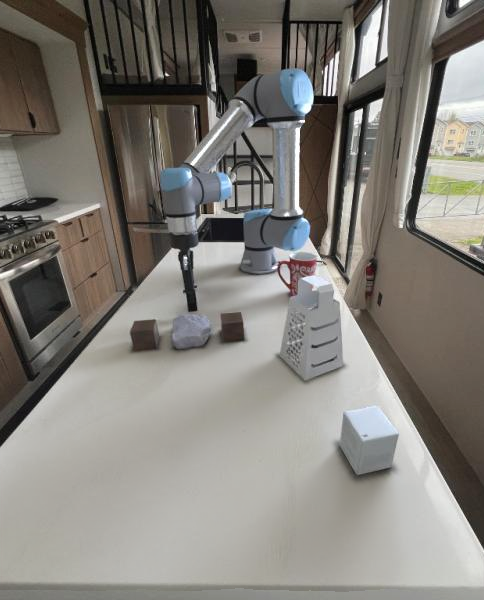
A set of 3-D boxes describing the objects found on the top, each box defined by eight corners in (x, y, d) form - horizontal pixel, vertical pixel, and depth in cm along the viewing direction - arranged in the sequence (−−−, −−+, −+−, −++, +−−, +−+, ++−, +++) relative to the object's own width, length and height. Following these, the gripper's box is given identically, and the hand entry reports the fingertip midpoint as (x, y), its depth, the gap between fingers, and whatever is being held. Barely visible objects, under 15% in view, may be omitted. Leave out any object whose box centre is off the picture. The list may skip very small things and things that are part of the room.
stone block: (208, 328, 92) (172, 326, 90) (210, 313, 90) (173, 311, 88) (211, 353, 82) (170, 351, 80) (213, 337, 80) (172, 335, 78)
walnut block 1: (159, 337, 86) (156, 318, 83) (156, 348, 81) (153, 329, 78) (138, 339, 85) (134, 320, 83) (134, 350, 80) (129, 331, 78)
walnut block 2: (241, 329, 88) (241, 311, 86) (244, 340, 83) (243, 321, 81) (221, 331, 88) (220, 313, 85) (222, 342, 83) (221, 323, 80)
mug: (313, 288, 112) (315, 251, 106) (316, 300, 104) (319, 260, 98) (276, 289, 112) (277, 251, 106) (277, 300, 104) (277, 260, 98)
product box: (392, 468, 50) (400, 434, 47) (356, 476, 49) (361, 442, 46) (371, 437, 55) (377, 404, 52) (338, 443, 54) (342, 410, 51)
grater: (305, 380, 69) (310, 295, 60) (279, 355, 77) (280, 277, 68) (343, 365, 73) (353, 284, 64) (315, 343, 81) (320, 268, 73)
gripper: (170, 226, 90) (181, 302, 101) (166, 238, 79) (178, 322, 89) (197, 224, 91) (205, 299, 102) (197, 236, 80) (206, 320, 90)
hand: (192, 310), depth 95 cm, fingers closed
